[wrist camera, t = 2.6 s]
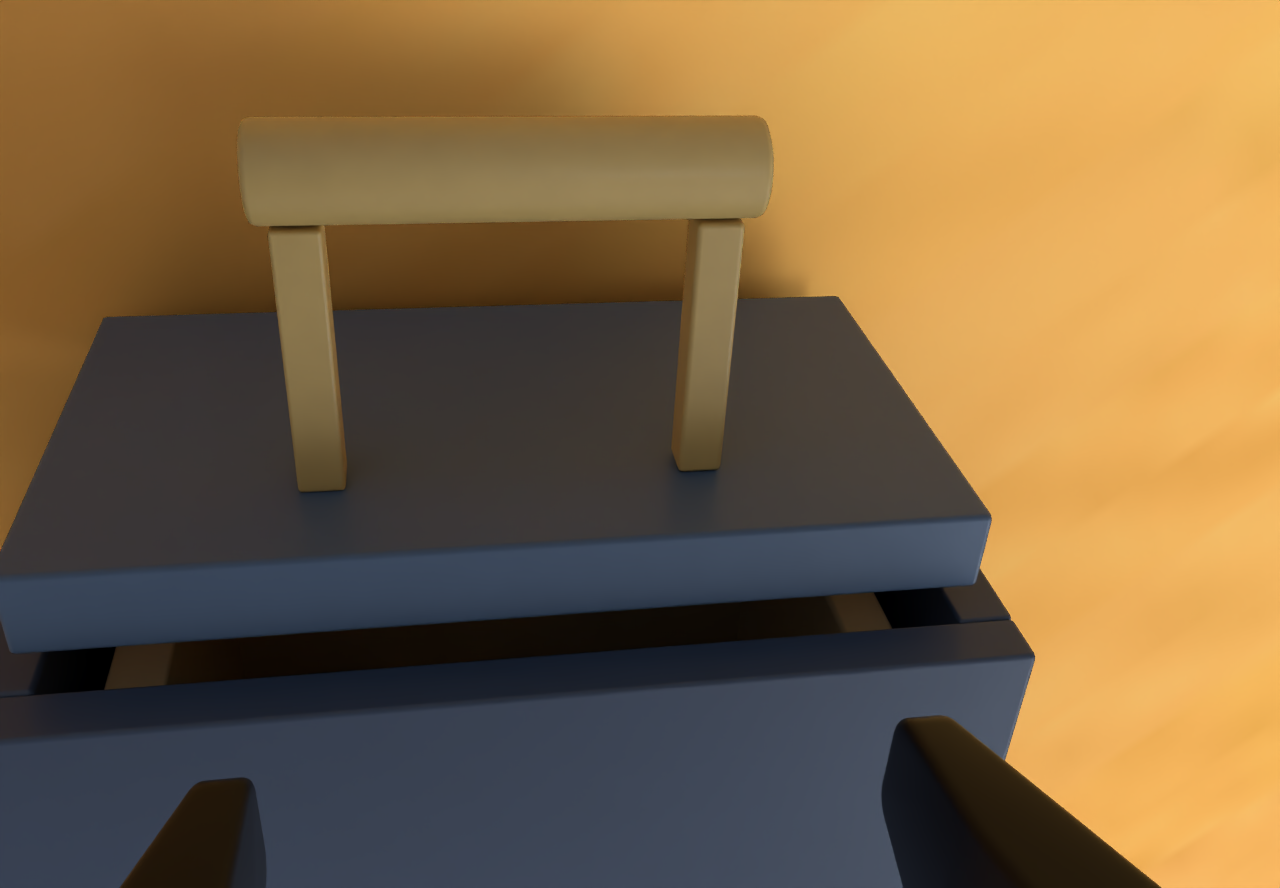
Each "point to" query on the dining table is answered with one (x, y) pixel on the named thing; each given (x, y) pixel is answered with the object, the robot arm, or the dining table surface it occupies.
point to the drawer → (480, 435)
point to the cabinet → (515, 758)
